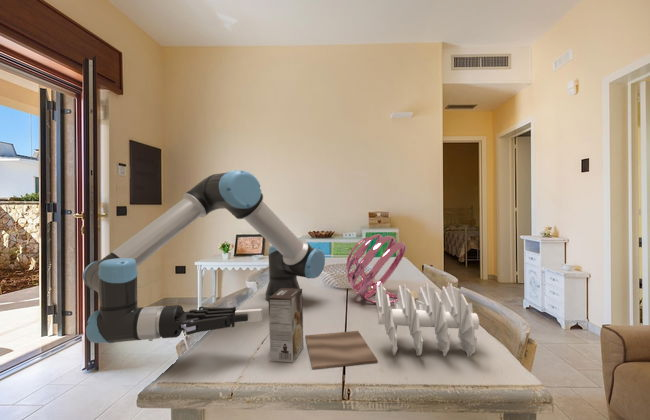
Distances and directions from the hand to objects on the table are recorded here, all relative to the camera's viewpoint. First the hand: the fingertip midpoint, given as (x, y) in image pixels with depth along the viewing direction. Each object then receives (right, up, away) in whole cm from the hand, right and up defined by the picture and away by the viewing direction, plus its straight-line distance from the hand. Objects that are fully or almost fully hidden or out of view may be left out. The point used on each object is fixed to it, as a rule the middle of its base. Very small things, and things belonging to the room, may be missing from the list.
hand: (261, 314), depth 77 cm
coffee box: (+6, -11, +2) cm, 13 cm away
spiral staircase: (+43, -10, +1) cm, 44 cm away
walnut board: (+20, -11, +4) cm, 23 cm away
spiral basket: (+38, -10, +47) cm, 61 cm away
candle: (+45, -10, +22) cm, 51 cm away
